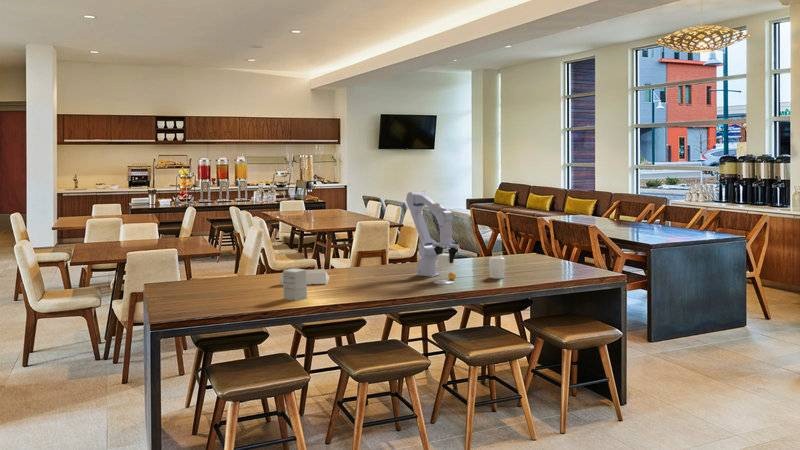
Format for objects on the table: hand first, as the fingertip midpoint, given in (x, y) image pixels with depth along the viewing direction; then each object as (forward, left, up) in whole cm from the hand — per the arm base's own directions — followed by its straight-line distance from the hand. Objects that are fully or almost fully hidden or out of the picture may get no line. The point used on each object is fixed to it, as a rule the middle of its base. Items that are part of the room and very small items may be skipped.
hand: (445, 262), depth 355 cm
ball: (+4, 0, -6) cm, 7 cm away
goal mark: (+4, -8, -8) cm, 12 cm away
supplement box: (-32, -74, -9) cm, 81 cm away
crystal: (-52, -46, -9) cm, 70 cm away
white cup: (+20, +17, -9) cm, 27 cm away
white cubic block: (0, 0, -2) cm, 2 cm away
